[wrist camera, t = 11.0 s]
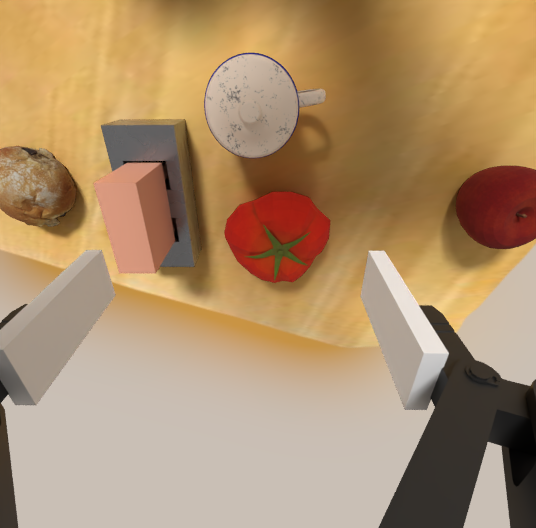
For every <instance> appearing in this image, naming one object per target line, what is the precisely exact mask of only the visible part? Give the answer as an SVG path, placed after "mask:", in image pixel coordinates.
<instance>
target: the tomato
mask: <svg viewBox="0 0 536 528" xmlns="http://www.w3.org/2000/svg"><path fill="white" fill-rule="evenodd" d="M329 230H330V220H329V219H328V218H327V217H326V216H325V215H324V214H323V213H322V212H321V211H320V210H318V209H317V208H316V206H315V205H314V204H313V202H312V201H311V199H310V198H309V197H307V196H304V195H300V194H297V193H294V192H271V193H269V194H267V195H264V196H262V197H260V198H258V199H256V200H254V201H250V202H247V203H244V204H241V205H239V206H238V208H237V209H236V210H235V211H234V212H233V213H232V215H231V216H230V217H229V218H228V219H227V223H226V227H225V232H224V234H225V238H226V240H227V242H228V244H229V246H230V248H231V250H232V252H233V254H234V256H235V257H236V259H237V261H238V262H239V263H240V264H241V265H242V266H243V267H245V268H246V269H247V270H248V271H249V272H250V273H251V274H253V275H255V276H256V277H258V278H260V279H261V280H265V281H270V282H273V283H276V282H280V281H288V282H294V281H295V280H297V279H298V278H299V277H301V276H302V275H303V274H304V273H305V272H306V270H307V269H308V268H309V267H310V266H311V264H312V262H313V260H314V259H315V257H316V256H317V255H318V254H319V253H321V252H322V250H323V249H324V247H325V245H326V243H327V241H328V239H329Z"/></svg>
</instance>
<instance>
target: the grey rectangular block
mask: <svg viewBox="0 0 536 528" xmlns="http://www.w3.org/2000/svg"><path fill="white" fill-rule="evenodd" d="M101 128H102V132H103V136H104V140H105V144H106V148H107V152H108V156H109V160H110V164H111V168H112V172H113V171H114V170H116V169H118V168H119V167H121V166H123V165H124V164H126V163H141V161H166V164H167V170H168V176H169V178H166V179H165V184H166V190H167V196H168V202H169V207H170V213H171V218H176V224H177V228H176V229H175V231H174V236H175V242H174V244H173V245H172V247H171V249H170V250H169V252H168V254H167V255H166V257H165V259H164V260H163V262H162V264H161V265H160V267H194V266H195V264H196V262H197V259H198V257H199V255H200V252H201V250H202V249H201V241H200V234H199V226H198V218H197V210H196V202H195V195H194V187H193V179H192V171H191V163H190V155H189V148H188V140H187V132H186V124H185V119H172V120H117V121H114V122H110V123H107V124H103V125H101Z"/></svg>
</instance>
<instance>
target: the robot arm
mask: <svg viewBox="0 0 536 528" xmlns="http://www.w3.org/2000/svg"><path fill="white" fill-rule="evenodd" d="M114 297H115V292H114V288H113V285H112V282H111V279H110V275H109V272H108V269H107V266H106V262H105V259H104V256H103V253H102V250H86V251H85V252H84V253H82V254H81V255H80V256H79V257H78V258H77V259H76V260H75V261H74V262H73V263H72V264H71V265H70V266H68V267H67V268H66V269H65V270H64V271H63V272H62V273H61V274H60V275H59V276H58V277H57V278H56V279H54V280H53V281H52V282H51V283H50V284H49V285H48V286H47V287H46V288H45V289H44V290H43V291H42V292H40V293H39V294H38V295H37V296H36V297H35V298H34V299H33V300H32V301H31V302H30V303H29V304H25V305H23V306H21V307H19V308H18V309H16V310H14V311H12V312H11V313H10V314H9V315H8V316H7V317H5V318H4V319H3V320H2V322H1V323H0V528H18V521H17V513H16V504H15V495H14V486H13V478H12V470H11V460H10V452H9V443H8V434H7V425H6V417H5V409H4V408H3V406H2V404H1V402H2V401H3V400H4V398H5V397H6V396H7V395H9V396H10V398H11V399H12V401H13V402H14V404H15V405H37V403H38V402H39V401H40V399H41V398H42V396H43V395H44V394H45V392H46V391H47V389H48V388H49V387H50V385H51V384H52V382H53V381H54V380H55V378H56V377H57V376H58V374H59V373H60V371H61V370H62V369H63V367H64V366H65V365H66V363H67V362H68V360H69V359H70V358H71V356H72V355H73V354H74V352H75V351H76V349H77V348H78V347H79V345H80V344H81V342H82V341H83V340H84V338H85V337H86V336H87V334H88V333H89V331H90V330H91V329H92V327H93V325H94V324H95V323H96V321H97V320H98V319H99V317H100V316H101V315H102V313H103V312H104V311H105V309H106V308H107V306H108V305H109V304H110V302H111V301H112V300H113V298H114ZM361 299H362V301H363V304H364V306H365V309H366V312H367V314H368V317H369V319H370V322H371V324H372V327H373V330H374V332H375V335H376V337H377V340H378V342H379V345H380V347H381V350H382V353H383V355H384V357H385V360H386V363H387V365H388V368H389V371H390V373H391V375H392V378H393V381H394V383H395V386H396V388H397V391H398V394H399V396H400V399H401V401H402V404H403V407H404V409H405V410H427V408H428V405H429V403H430V400H431V399H432V402H433V404H434V406H435V409H434V411H433V414H432V415H431V418H430V420H429V422H428V424H427V426H426V428H425V430H424V433H423V435H422V437H421V439H420V441H419V443H418V445H417V448H416V450H415V451H414V454H413V456H412V458H411V460H410V462H409V464H408V466H407V468H406V471H405V473H404V475H403V477H402V479H401V481H400V483H399V485H398V487H397V490H396V492H395V494H394V496H393V498H392V500H391V502H390V505H389V507H388V509H387V511H386V513H385V515H384V517H383V519H382V522H381V524H380V526H379V528H463V526H464V523H465V519H466V516H467V512H468V509H469V505H470V501H471V498H472V494H473V491H474V488H475V484H476V481H477V477H478V474H479V470H480V466H481V463H482V460H483V456H484V452H485V449H486V446H487V442H491V443H494V444H498V445H501V446H502V455H503V463H504V473H505V482H506V491H507V500H508V509H509V519H510V528H536V380H535V381H533V383H532V385H531V386H527V385H523V384H519V383H515V382H511V381H507V380H504V379H502V378H501V377H500V375H499V374H498V373H497V372H496V371H495V370H494V369H493V368H491V367H489V366H488V365H486V364H484V363H482V362H479V361H476V360H475V359H474V358H473V356H472V355H471V354H470V352H469V351H468V349H467V348H466V347H465V345H464V344H463V342H462V341H461V339H460V338H459V337H458V335H457V334H456V333H455V332H454V329H453V328H452V327H451V325H449V322H448V321H447V320H446V318H445V317H444V315H443V314H442V313H441V312H439V311H438V310H437V309H435V308H434V307H433V306H422V305H418V303H417V302H416V300H415V299H414V297H413V295H412V294H411V292H410V291H409V289H408V287H407V286H406V284H405V283H404V281H403V279H402V278H401V276H400V275H399V273H398V271H397V270H396V268H395V267H394V265H393V264H392V262H391V260H390V259H389V257H388V256H387V254H386V252H385V251H369V252H368V258H367V263H366V269H365V275H364V280H363V286H362V292H361Z"/></svg>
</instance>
